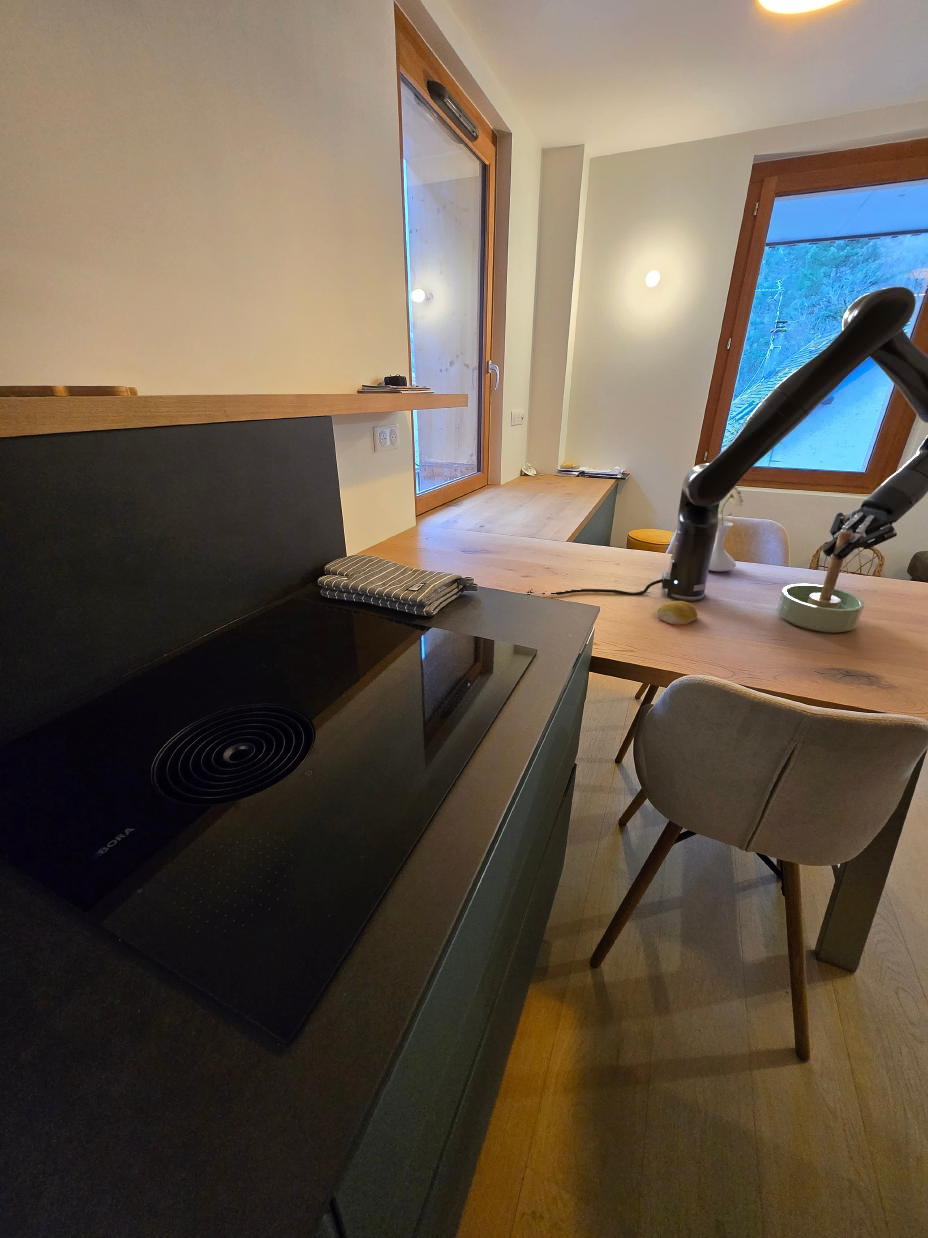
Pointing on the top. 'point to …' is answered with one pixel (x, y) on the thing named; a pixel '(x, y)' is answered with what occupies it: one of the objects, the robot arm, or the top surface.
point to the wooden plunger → (831, 578)
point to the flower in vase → (719, 555)
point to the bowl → (819, 609)
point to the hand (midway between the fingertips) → (831, 555)
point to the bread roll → (677, 612)
